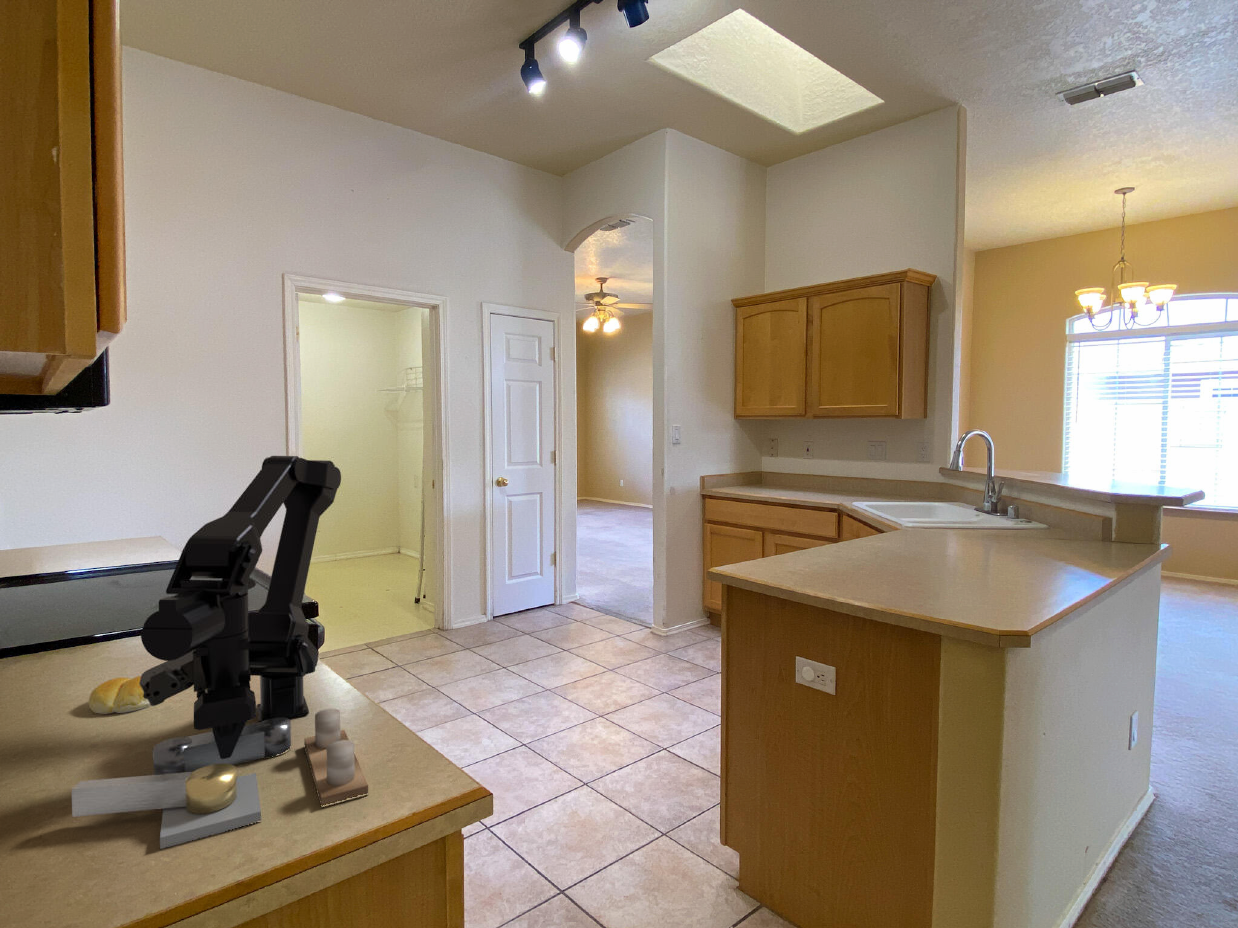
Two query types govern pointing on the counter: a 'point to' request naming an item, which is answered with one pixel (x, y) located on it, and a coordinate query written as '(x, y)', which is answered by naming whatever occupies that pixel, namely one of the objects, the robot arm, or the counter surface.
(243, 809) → the plate
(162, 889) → the counter surface
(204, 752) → the grey knobbed rod
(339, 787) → the peg rack
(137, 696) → the bread roll
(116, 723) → the counter surface
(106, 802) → the lever switch
